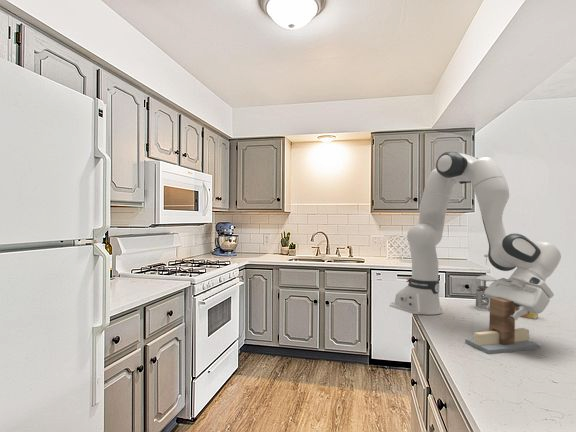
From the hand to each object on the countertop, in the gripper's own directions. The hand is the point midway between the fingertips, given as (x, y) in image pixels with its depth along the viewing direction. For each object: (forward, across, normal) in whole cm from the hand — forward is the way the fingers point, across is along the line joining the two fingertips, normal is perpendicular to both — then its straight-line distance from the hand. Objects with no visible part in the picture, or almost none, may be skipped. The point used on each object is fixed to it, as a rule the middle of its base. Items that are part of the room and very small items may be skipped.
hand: (500, 313), depth 117 cm
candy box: (-20, -25, +35) cm, 47 cm away
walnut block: (+6, 0, +7) cm, 9 cm away
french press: (-14, -39, +29) cm, 51 cm away
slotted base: (+7, 0, +8) cm, 10 cm away
